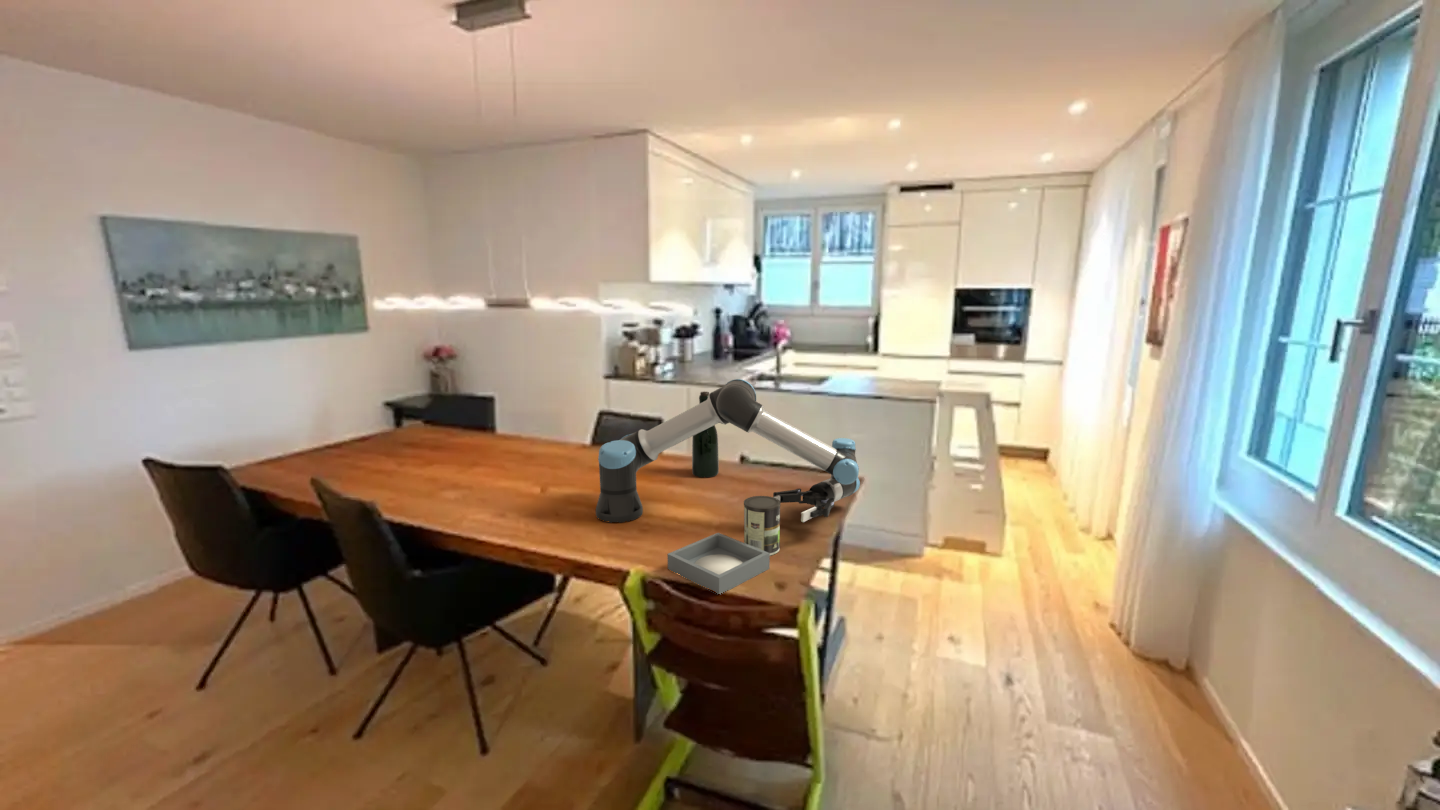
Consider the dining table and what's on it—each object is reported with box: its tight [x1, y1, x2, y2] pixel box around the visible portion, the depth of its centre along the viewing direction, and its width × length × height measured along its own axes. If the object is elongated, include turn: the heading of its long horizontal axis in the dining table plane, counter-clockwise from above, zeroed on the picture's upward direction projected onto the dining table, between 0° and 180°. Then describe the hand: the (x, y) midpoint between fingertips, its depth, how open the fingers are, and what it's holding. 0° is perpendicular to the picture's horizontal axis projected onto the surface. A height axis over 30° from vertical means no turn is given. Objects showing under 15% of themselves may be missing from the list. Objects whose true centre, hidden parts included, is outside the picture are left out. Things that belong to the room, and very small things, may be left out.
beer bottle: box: [691, 391, 720, 478], centre depth 235 cm, size 10×10×33 cm
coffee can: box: [743, 495, 782, 557], centre depth 170 cm, size 10×10×14 cm
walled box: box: [667, 532, 771, 595], centre depth 159 cm, size 19×19×4 cm
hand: (783, 511), depth 177 cm, fingers open, 13 cm apart
